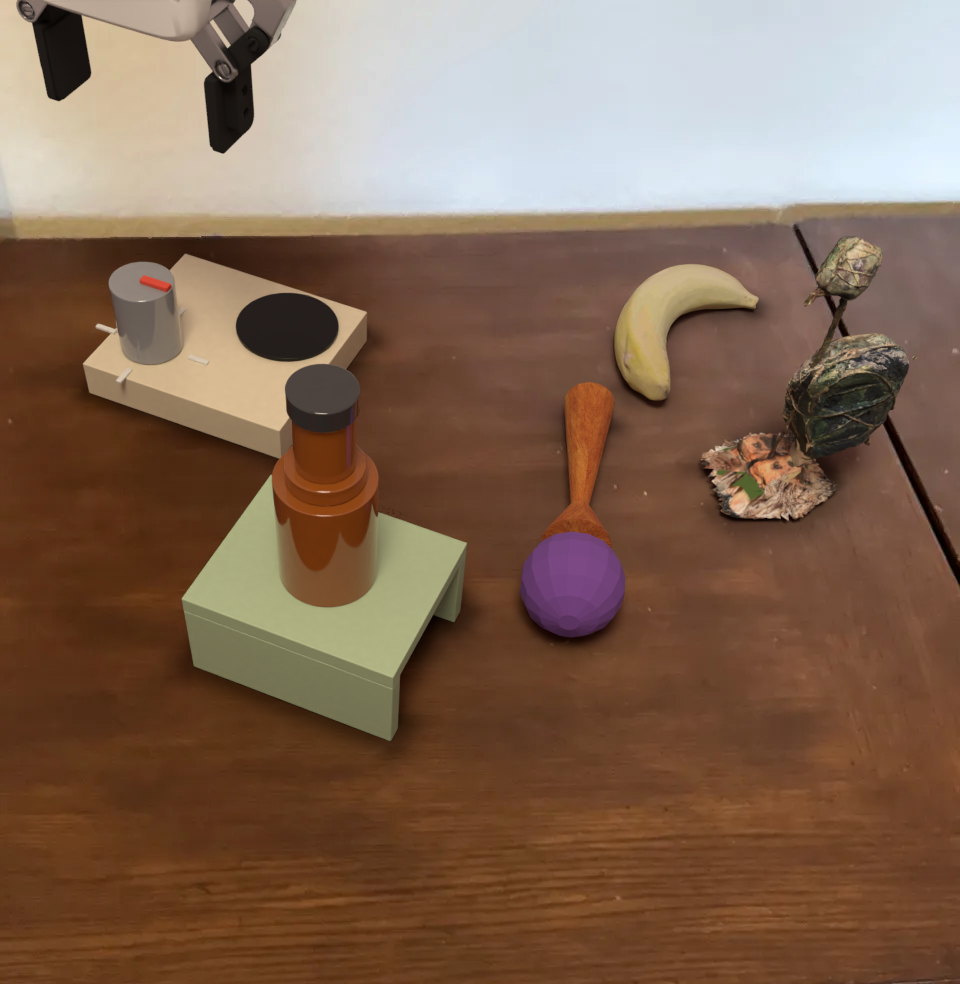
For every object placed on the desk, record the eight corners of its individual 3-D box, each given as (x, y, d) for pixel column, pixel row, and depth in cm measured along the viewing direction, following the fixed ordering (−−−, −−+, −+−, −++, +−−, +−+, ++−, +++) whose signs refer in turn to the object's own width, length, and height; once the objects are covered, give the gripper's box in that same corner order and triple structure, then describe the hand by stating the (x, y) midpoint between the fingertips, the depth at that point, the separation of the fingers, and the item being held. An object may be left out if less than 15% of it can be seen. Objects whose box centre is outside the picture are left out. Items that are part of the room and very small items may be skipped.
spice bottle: (261, 587, 66) (243, 405, 56) (306, 521, 69) (296, 337, 59) (351, 621, 65) (350, 441, 55) (393, 552, 68) (398, 370, 58)
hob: (69, 393, 82) (61, 361, 80) (175, 278, 90) (170, 246, 88) (277, 465, 79) (274, 435, 77) (367, 340, 87) (367, 309, 85)
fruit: (570, 371, 87) (577, 333, 84) (675, 268, 95) (684, 230, 92) (659, 417, 85) (669, 380, 82) (759, 308, 93) (771, 270, 90)
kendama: (648, 381, 81) (639, 602, 68) (616, 449, 85) (601, 669, 72) (561, 354, 80) (533, 572, 67) (533, 423, 85) (502, 641, 71)
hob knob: (108, 353, 81) (94, 285, 77) (141, 318, 83) (129, 250, 79) (163, 372, 80) (152, 304, 76) (194, 336, 82) (185, 268, 78)
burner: (217, 342, 82) (216, 339, 82) (265, 285, 86) (265, 281, 86) (310, 374, 81) (310, 370, 81) (355, 314, 85) (355, 310, 85)
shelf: (193, 666, 70) (180, 598, 65) (276, 544, 75) (270, 473, 71) (390, 742, 68) (393, 677, 63) (460, 610, 73) (467, 542, 69)
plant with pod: (881, 527, 80) (1010, 264, 64) (708, 526, 79) (796, 258, 63) (850, 438, 85) (962, 173, 69) (687, 436, 84) (763, 166, 68)
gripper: (-134, -287, 52) (-34, 102, 66) (236, -188, 49) (261, 197, 63) (-23, -335, 56) (49, 39, 70) (323, -247, 53) (329, 125, 67)
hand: (149, 113), depth 66 cm, fingers open, 9 cm apart
